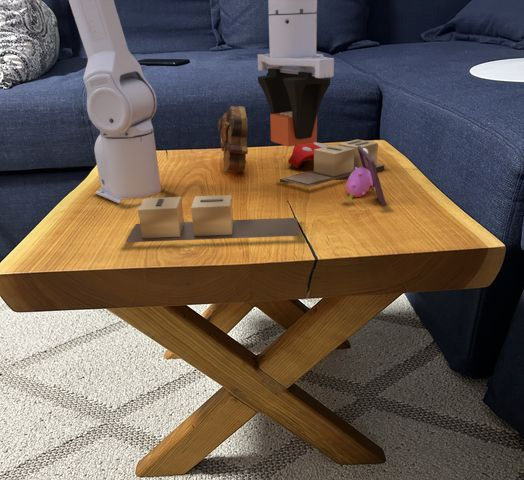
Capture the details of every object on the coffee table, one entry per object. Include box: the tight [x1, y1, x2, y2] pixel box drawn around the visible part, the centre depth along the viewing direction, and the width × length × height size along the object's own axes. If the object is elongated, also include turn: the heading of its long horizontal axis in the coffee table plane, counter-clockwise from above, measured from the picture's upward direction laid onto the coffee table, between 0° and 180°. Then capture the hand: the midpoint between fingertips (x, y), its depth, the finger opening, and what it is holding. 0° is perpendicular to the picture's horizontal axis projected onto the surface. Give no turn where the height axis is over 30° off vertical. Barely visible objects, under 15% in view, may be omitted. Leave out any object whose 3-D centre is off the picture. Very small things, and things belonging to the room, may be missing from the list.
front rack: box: [125, 194, 301, 243], centre depth 65 cm, size 20×6×4 cm, turn 91°
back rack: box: [279, 139, 385, 188], centre depth 86 cm, size 17×6×4 cm, turn 131°
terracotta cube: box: [269, 111, 318, 148], centre depth 73 cm, size 4×4×4 cm
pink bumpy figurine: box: [345, 146, 387, 207], centre depth 74 cm, size 7×5×9 cm
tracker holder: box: [288, 141, 329, 169], centre depth 95 cm, size 12×4×10 cm
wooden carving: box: [217, 105, 249, 174], centre depth 91 cm, size 16×5×10 cm, turn 13°
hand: (293, 135), depth 73 cm, fingers closed on terracotta cube, 4 cm apart
